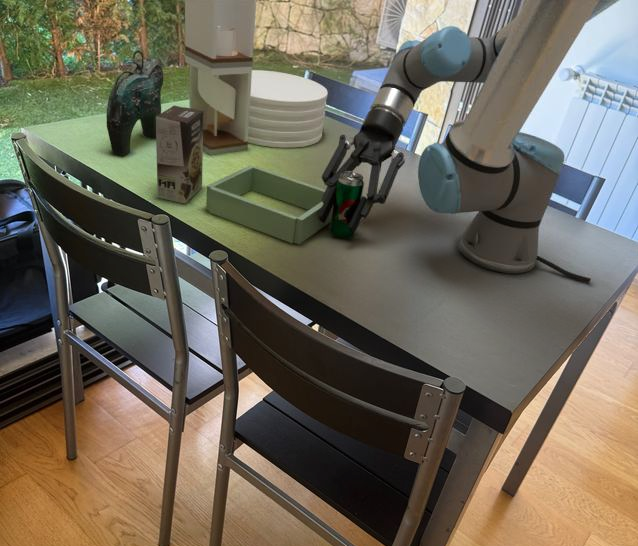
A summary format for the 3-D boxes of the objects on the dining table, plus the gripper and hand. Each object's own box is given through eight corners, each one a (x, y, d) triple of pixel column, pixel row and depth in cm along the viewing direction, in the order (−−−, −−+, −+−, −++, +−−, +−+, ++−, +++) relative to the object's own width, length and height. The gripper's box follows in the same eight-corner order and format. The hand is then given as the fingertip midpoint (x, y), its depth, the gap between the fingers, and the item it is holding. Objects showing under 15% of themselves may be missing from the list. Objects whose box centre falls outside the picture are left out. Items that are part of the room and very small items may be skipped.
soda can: (359, 235, 119) (370, 177, 112) (342, 242, 116) (353, 183, 108) (340, 225, 121) (350, 168, 114) (323, 231, 118) (332, 173, 111)
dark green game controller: (147, 129, 150) (144, 42, 138) (171, 135, 149) (170, 48, 137) (103, 153, 134) (95, 57, 122) (129, 160, 133) (124, 63, 121)
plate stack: (320, 153, 153) (327, 107, 146) (210, 138, 151) (211, 91, 144) (322, 120, 175) (328, 79, 168) (226, 107, 173) (228, 64, 166)
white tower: (185, 138, 149) (185, -26, 127) (221, 134, 155) (227, -24, 134) (210, 155, 142) (214, -16, 121) (247, 149, 148) (257, -14, 127)
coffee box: (187, 204, 120) (187, 122, 110) (156, 198, 120) (153, 115, 110) (203, 188, 127) (204, 110, 117) (174, 182, 127) (173, 103, 118)
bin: (336, 217, 124) (340, 194, 121) (297, 245, 112) (300, 221, 109) (249, 186, 131) (251, 164, 128) (204, 210, 119) (204, 186, 116)
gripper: (432, 143, 117) (383, 248, 114) (347, 117, 122) (298, 217, 120) (430, 121, 109) (377, 232, 107) (339, 95, 115) (288, 201, 113)
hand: (336, 224), depth 114 cm, fingers open, 6 cm apart
